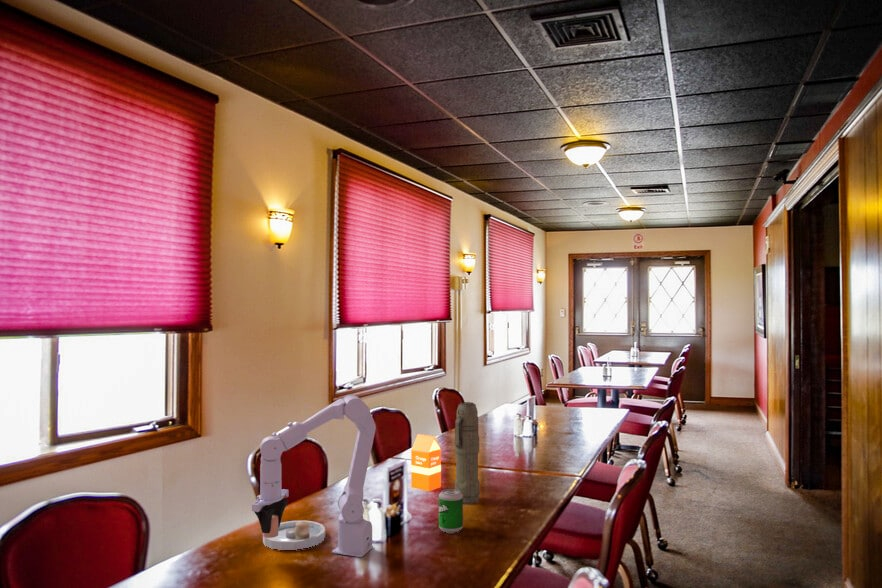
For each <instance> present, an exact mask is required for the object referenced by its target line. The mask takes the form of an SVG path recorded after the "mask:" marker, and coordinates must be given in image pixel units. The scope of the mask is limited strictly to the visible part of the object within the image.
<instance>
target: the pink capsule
mask: <svg viewBox="0 0 882 588" xmlns="http://www.w3.org/2000/svg"><path fill="white" fill-rule="evenodd" d="M263 536H264V537H266V538H273V537H276V536H278V516H277V515H272V520H271V530H270V533H262V537H263Z"/></svg>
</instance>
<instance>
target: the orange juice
mask: <svg viewBox="0 0 882 588" xmlns="http://www.w3.org/2000/svg"><path fill="white" fill-rule="evenodd" d="M415 437H416V438H415V440H414V443H413V445H412V448H411V450H410V451H411V456H410V458H411V460H410V461H411V462H410V463H411V464H410V465H411V466H410V472H411V475H410V476H411V478H410V479H411V481H410V485H411V487H410V488H413V489H417V490H422V491H427V492H431V491H434V490H436V489H439V488H441V487H442V449H441V447H440V445H439V442H438V441H437V438H436V436H433V435H427V434H420V433H417V435H416V436H415Z"/></svg>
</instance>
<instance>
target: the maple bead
mask: <svg viewBox="0 0 882 588" xmlns="http://www.w3.org/2000/svg"><path fill="white" fill-rule="evenodd" d="M301 521H302V522H298V523H296V540H302V539H307V538H310V523H309V522H306V521H307V520H306V521H303V520H301Z"/></svg>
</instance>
